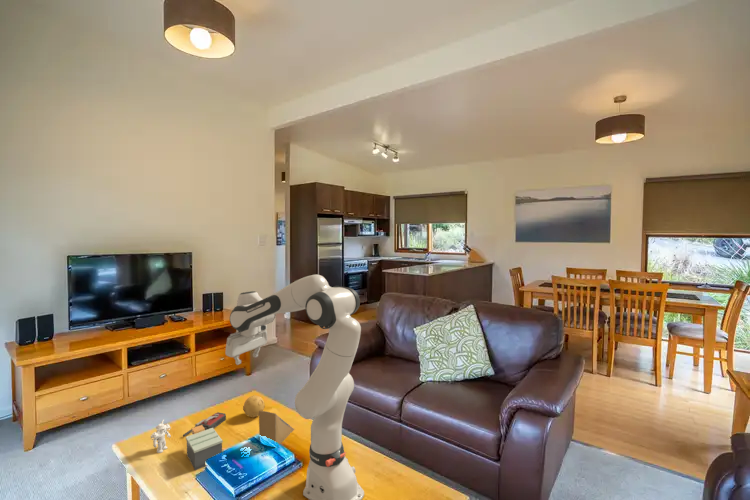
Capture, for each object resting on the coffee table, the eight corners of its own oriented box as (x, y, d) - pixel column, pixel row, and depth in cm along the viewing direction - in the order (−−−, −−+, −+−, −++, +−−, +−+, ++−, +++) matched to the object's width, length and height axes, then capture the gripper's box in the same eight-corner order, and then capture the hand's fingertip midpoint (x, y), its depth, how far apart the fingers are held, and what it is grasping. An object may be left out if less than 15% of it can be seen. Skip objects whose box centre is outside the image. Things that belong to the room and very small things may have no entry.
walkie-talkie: (214, 416, 174) (181, 438, 155) (214, 407, 174) (181, 428, 155) (228, 418, 172) (197, 442, 152) (228, 410, 171) (196, 432, 152)
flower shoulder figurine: (166, 443, 151) (165, 416, 150) (173, 444, 150) (173, 417, 150) (148, 456, 142) (148, 427, 141) (157, 457, 141) (156, 428, 141)
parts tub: (222, 459, 140) (221, 442, 140) (195, 470, 134) (194, 452, 133) (212, 445, 149) (212, 429, 149) (187, 455, 142) (186, 438, 142)
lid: (222, 445, 140) (222, 438, 140) (194, 456, 133) (194, 449, 133) (210, 428, 152) (209, 422, 152) (183, 437, 145) (183, 431, 145)
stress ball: (249, 413, 178) (235, 407, 171) (261, 395, 181) (248, 389, 175) (259, 423, 171) (245, 417, 165) (272, 405, 175) (258, 398, 168)
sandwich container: (295, 429, 162) (295, 397, 161) (276, 448, 148) (275, 413, 147) (279, 426, 165) (279, 395, 164) (259, 444, 150) (258, 410, 150)
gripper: (233, 336, 138) (232, 370, 139) (270, 324, 156) (269, 354, 157) (221, 333, 141) (221, 367, 142) (259, 322, 159) (259, 351, 160)
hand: (247, 360), depth 149 cm, fingers open, 8 cm apart
